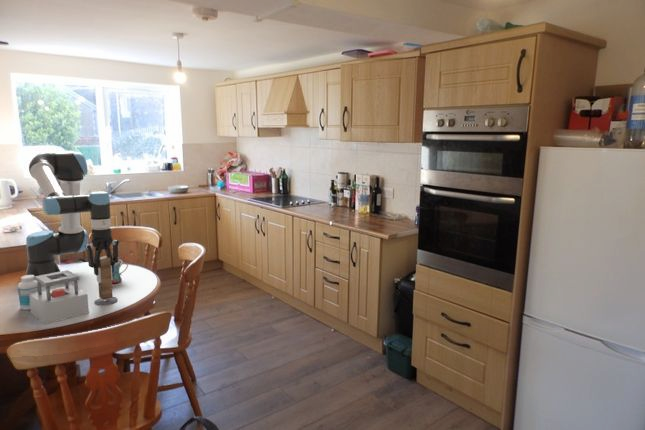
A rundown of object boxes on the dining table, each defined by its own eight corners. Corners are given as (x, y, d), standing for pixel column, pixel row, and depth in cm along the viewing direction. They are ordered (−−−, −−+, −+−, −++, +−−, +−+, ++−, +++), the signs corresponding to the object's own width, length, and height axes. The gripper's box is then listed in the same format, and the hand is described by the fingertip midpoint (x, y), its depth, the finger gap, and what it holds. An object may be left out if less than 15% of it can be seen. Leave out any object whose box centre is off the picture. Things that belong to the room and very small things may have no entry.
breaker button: (51, 309, 175) (50, 290, 174) (63, 306, 178) (62, 288, 177) (55, 312, 172) (54, 293, 171) (67, 309, 176) (66, 290, 174)
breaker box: (30, 312, 174) (27, 276, 172) (73, 302, 187) (70, 268, 184) (44, 324, 164) (41, 285, 162) (88, 312, 176) (86, 276, 174)
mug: (102, 285, 208) (100, 264, 206) (102, 280, 216) (100, 259, 214) (129, 282, 214) (128, 262, 212) (128, 277, 222) (127, 257, 220)
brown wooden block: (99, 297, 188) (96, 257, 185) (108, 294, 191) (106, 255, 188) (103, 299, 185) (100, 259, 182) (112, 297, 188) (110, 257, 185)
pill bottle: (26, 303, 184) (23, 273, 181) (45, 303, 184) (42, 273, 182) (16, 310, 176) (12, 279, 174) (35, 310, 177) (32, 279, 175)
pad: (91, 301, 188) (91, 300, 188) (111, 296, 195) (111, 295, 195) (99, 307, 182) (99, 305, 182) (121, 301, 189) (121, 300, 189)
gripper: (83, 232, 174) (87, 287, 178) (125, 226, 187) (128, 278, 191) (76, 229, 179) (80, 283, 183) (117, 224, 192) (120, 274, 196)
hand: (104, 280), depth 187 cm, fingers closed on brown wooden block, 4 cm apart
